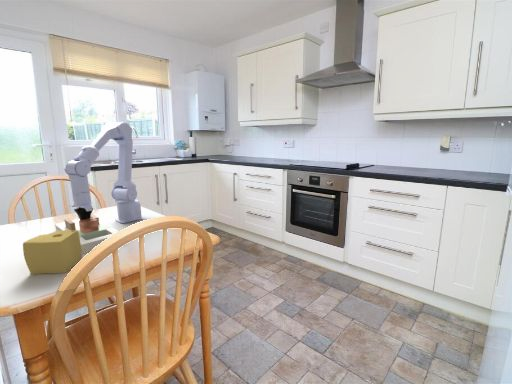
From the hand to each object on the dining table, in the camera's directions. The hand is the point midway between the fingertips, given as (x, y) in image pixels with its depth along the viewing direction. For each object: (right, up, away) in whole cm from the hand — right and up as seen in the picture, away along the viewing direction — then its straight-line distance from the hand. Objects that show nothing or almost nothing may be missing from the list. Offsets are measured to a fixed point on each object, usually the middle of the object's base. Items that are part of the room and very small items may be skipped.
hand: (86, 225), depth 110 cm
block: (+3, -2, -2) cm, 4 cm away
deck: (0, -4, +1) cm, 4 cm away
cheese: (+6, -10, -25) cm, 27 cm away
